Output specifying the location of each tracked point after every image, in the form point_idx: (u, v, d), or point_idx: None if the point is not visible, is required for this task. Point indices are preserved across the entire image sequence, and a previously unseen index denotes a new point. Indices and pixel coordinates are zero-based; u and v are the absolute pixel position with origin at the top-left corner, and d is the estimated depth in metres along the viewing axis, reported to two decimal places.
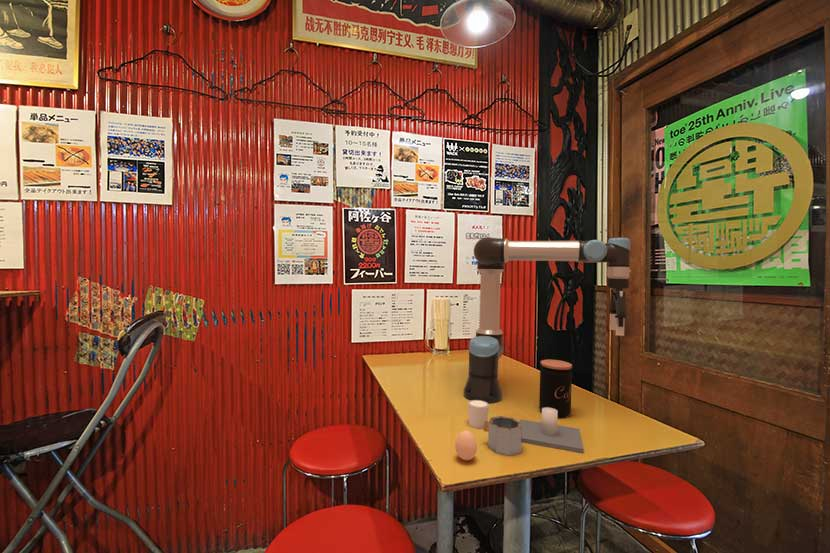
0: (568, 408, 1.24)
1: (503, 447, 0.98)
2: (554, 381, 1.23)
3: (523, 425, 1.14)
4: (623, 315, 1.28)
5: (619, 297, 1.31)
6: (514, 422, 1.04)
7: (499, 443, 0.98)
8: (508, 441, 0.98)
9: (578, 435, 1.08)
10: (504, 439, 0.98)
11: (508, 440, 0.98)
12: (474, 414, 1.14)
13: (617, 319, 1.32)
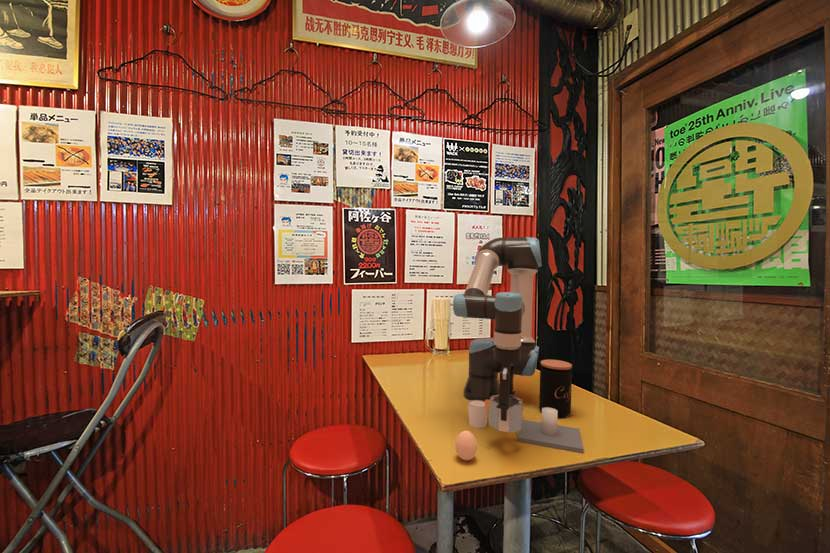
0: (568, 408, 1.24)
1: None
2: (554, 381, 1.23)
3: (523, 425, 1.14)
4: (504, 407, 0.95)
5: (502, 381, 0.96)
6: (515, 400, 1.04)
7: None
8: (509, 418, 0.98)
9: (578, 435, 1.08)
10: None
11: (509, 417, 0.98)
12: (474, 414, 1.14)
13: (500, 409, 0.98)
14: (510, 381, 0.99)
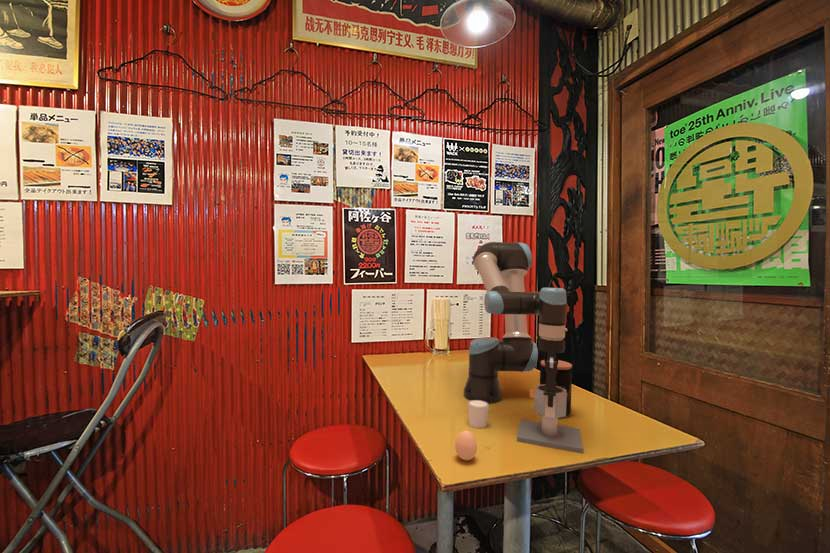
0: (568, 408, 1.24)
1: None
2: None
3: (523, 425, 1.14)
4: (552, 394, 1.01)
5: (549, 369, 1.03)
6: (558, 389, 1.11)
7: None
8: (555, 404, 1.05)
9: (578, 435, 1.08)
10: None
11: (555, 403, 1.05)
12: (474, 414, 1.14)
13: (546, 397, 1.05)
14: (555, 370, 1.06)
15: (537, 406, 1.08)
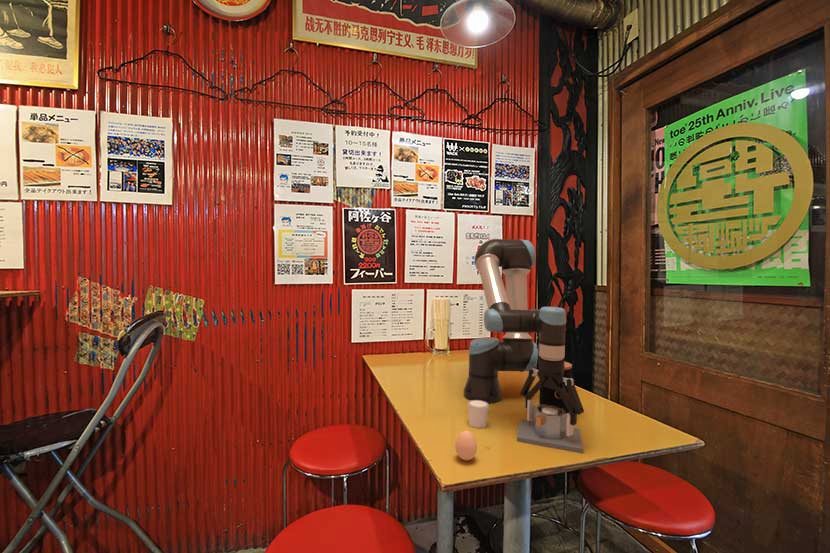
0: None
1: (562, 431, 1.06)
2: None
3: (523, 425, 1.14)
4: (582, 411, 1.02)
5: (571, 387, 1.03)
6: None
7: (561, 429, 1.05)
8: (565, 423, 1.07)
9: (578, 435, 1.08)
10: (563, 423, 1.06)
11: (565, 423, 1.07)
12: (474, 414, 1.14)
13: (570, 416, 1.03)
14: (564, 387, 1.07)
15: (551, 432, 1.05)
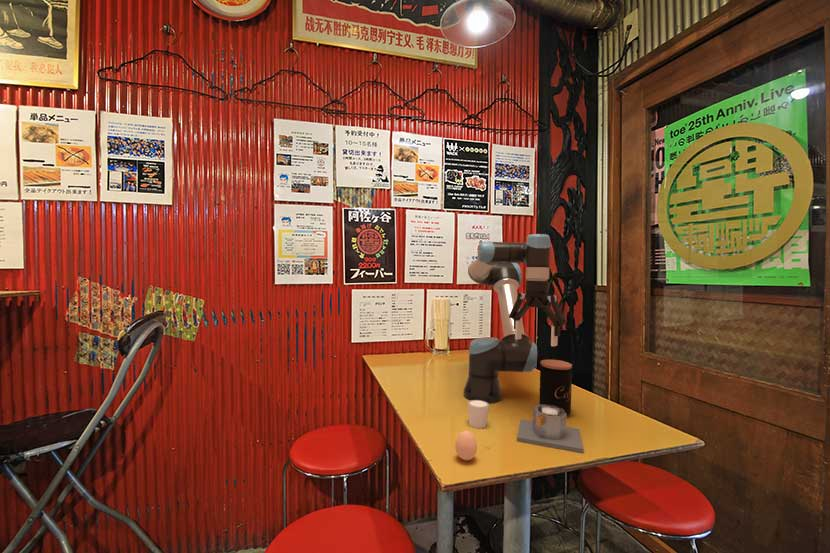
0: (568, 408, 1.24)
1: (562, 431, 1.06)
2: (554, 381, 1.23)
3: (523, 425, 1.14)
4: (565, 323, 1.13)
5: (555, 302, 1.15)
6: None
7: (561, 429, 1.05)
8: (565, 423, 1.07)
9: (578, 435, 1.08)
10: (563, 423, 1.06)
11: (565, 423, 1.07)
12: (474, 414, 1.14)
13: (554, 328, 1.15)
14: (548, 305, 1.19)
15: (551, 432, 1.05)
